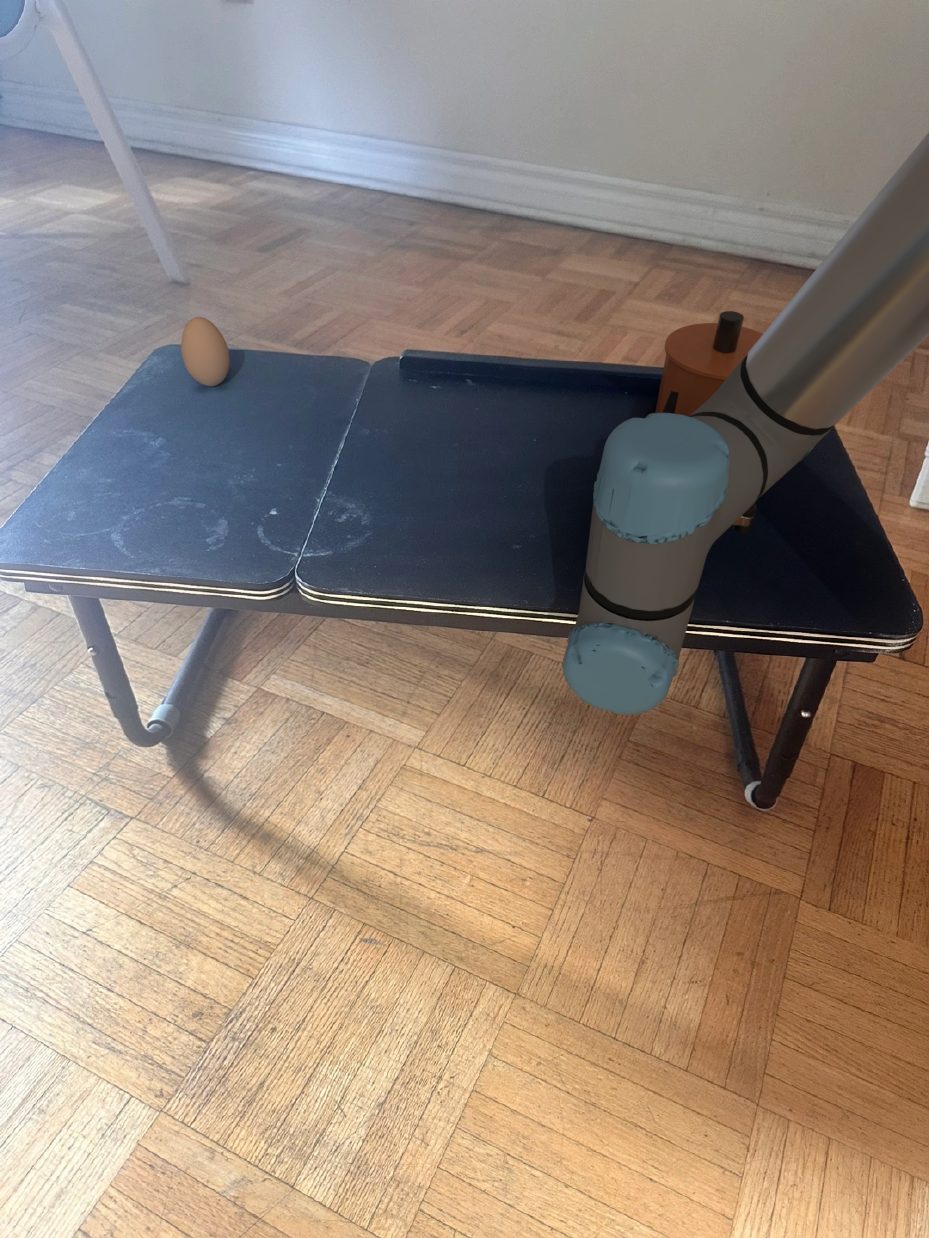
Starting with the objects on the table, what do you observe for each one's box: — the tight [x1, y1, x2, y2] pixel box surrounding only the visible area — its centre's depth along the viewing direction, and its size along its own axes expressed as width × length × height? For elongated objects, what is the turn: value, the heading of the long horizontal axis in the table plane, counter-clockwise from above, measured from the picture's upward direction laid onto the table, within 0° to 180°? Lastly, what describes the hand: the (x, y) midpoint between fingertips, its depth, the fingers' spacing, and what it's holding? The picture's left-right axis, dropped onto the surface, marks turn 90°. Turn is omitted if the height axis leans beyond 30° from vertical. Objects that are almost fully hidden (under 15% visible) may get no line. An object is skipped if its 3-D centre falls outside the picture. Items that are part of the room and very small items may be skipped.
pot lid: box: [664, 310, 764, 380], centre depth 85 cm, size 12×12×5 cm
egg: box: [180, 316, 231, 387], centre depth 96 cm, size 5×5×8 cm
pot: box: [655, 353, 725, 416], centre depth 89 cm, size 11×11×8 cm
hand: (703, 410), depth 81 cm, fingers closed on lemon, 5 cm apart
